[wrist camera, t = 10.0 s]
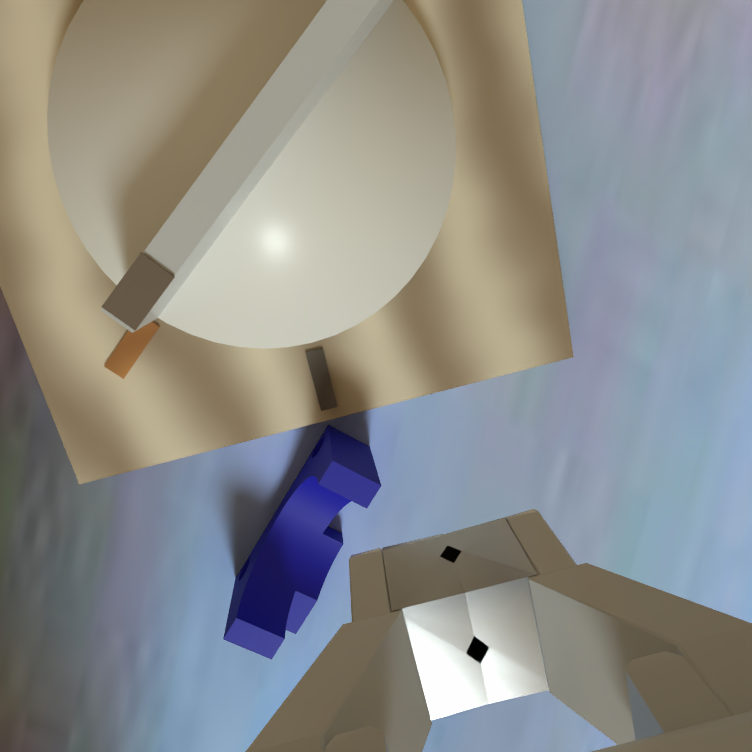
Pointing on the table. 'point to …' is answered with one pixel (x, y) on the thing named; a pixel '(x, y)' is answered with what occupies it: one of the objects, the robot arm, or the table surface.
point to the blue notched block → (299, 544)
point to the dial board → (302, 362)
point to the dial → (251, 160)
